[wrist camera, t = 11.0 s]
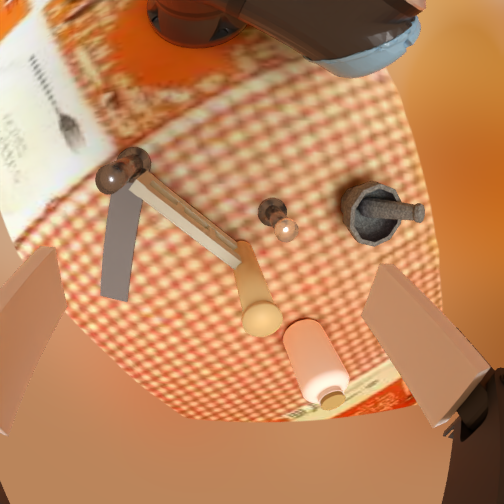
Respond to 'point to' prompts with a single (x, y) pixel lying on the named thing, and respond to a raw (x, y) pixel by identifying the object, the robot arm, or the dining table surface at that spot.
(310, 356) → the potion bottle
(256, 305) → the slotted fence panel
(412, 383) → the robot arm
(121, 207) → the strip
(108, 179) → the brown knob post
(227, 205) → the dining table surface
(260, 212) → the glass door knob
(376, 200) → the mortar and pestle
